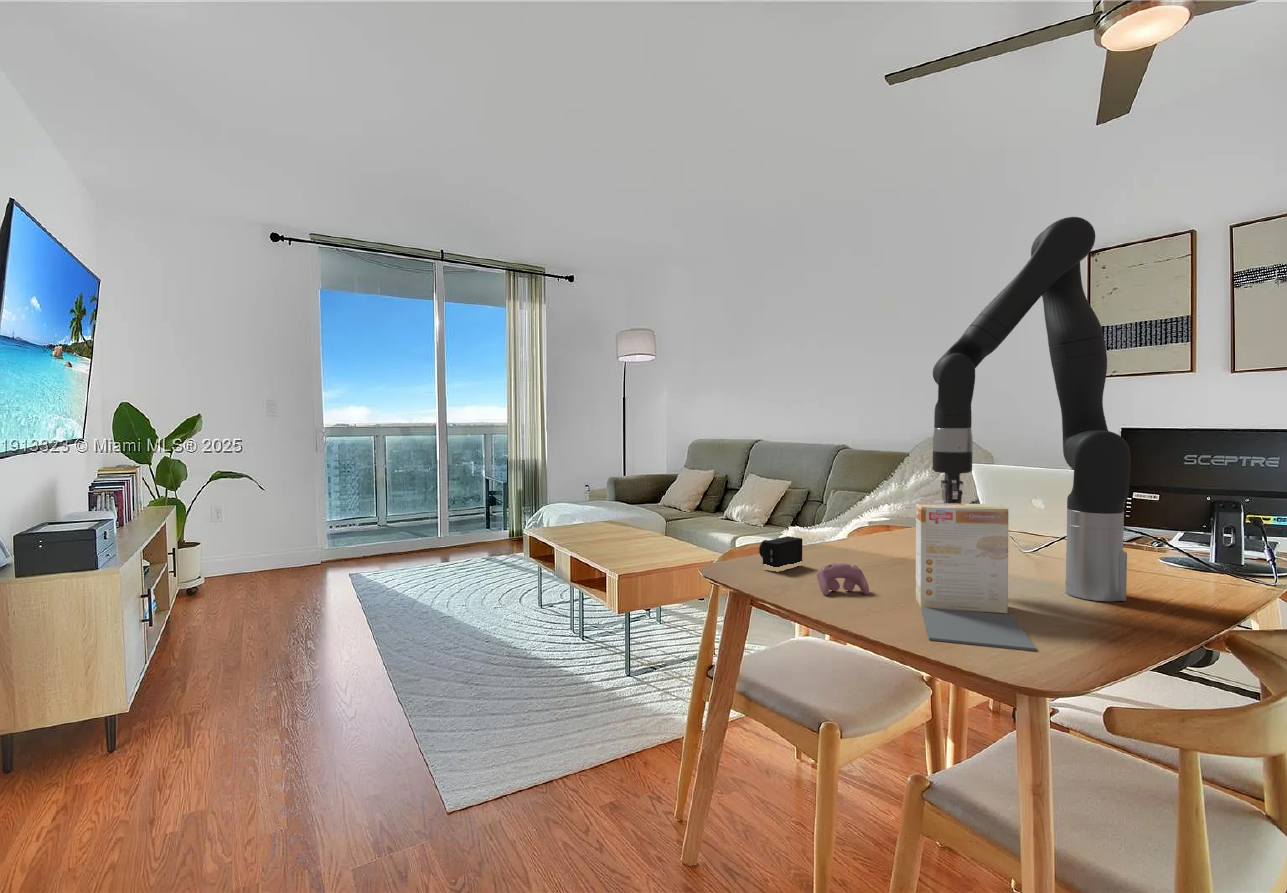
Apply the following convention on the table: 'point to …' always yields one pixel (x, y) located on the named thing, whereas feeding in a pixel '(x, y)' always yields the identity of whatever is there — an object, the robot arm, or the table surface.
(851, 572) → the video game controller
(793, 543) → the digital camera
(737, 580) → the table surface
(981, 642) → the mat
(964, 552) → the coffeecake box
